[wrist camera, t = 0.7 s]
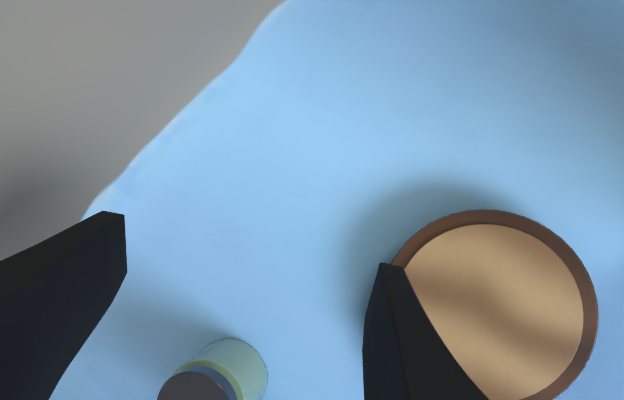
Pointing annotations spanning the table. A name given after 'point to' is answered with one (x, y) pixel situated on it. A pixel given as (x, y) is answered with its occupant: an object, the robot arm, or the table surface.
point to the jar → (219, 374)
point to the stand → (505, 301)
